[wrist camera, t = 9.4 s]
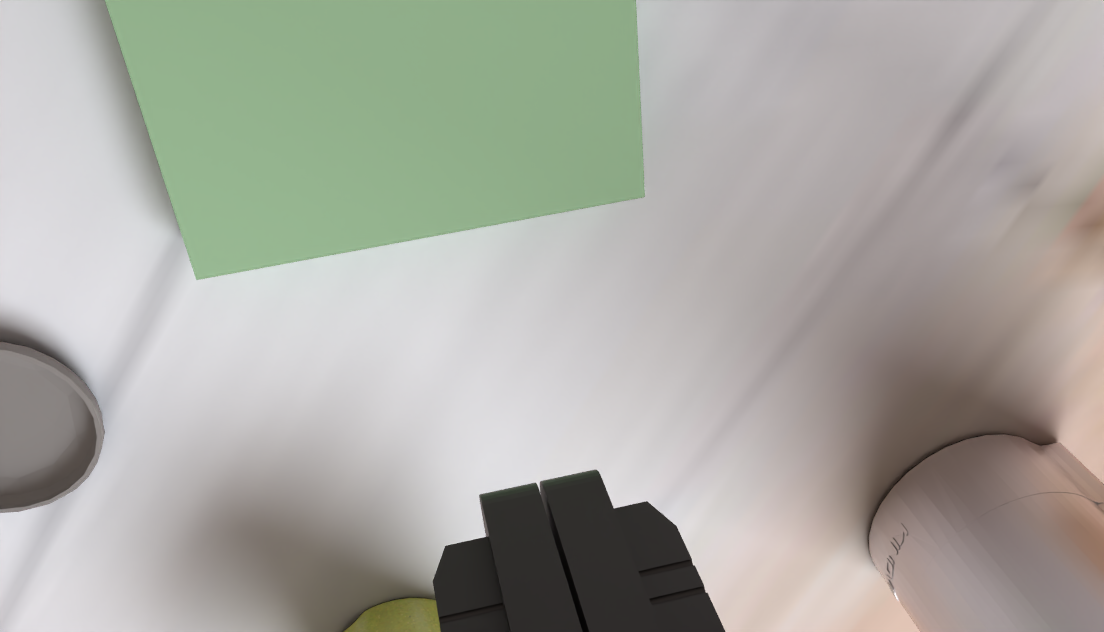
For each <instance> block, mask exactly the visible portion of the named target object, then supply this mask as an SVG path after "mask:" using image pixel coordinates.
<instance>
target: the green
mask: <svg viewBox="0 0 1104 632" xmlns="http://www.w3.org/2000/svg"><path fill="white" fill-rule="evenodd" d="M105 2H106V5H107V9H108V12H109V15H110V18H111V21H112V24H113V27H114V30H115V33H116V36H117V39H118V42H119V45H120V48H121V51H122V54H123V57H124V60H125V63H126V66H127V69H128V73H129V76H130V79H131V82H132V85H133V88H134V91H135V94H136V97H137V100H138V103H139V106H140V109H141V112H142V115H143V118H144V121H145V124H146V127H147V130H148V133H149V137H150V140H151V143H152V146H153V149H154V152H155V155H156V158H157V161H158V164H159V167H160V170H161V173H162V176H163V179H164V182H165V185H166V188H167V191H168V194H169V198H170V201H171V204H172V207H173V210H174V213H175V216H176V219H177V222H178V225H179V228H180V231H181V234H182V237H183V240H184V243H185V246H186V249H187V252H188V255H189V258H190V262H191V265H192V268H193V271H194V274H195V277H196V280H199V279H205V278H210V277H216V276H221V275H226V274H232V273H237V272H243V271H248V270H253V269H259V268H264V267H270V266H275V265H280V264H286V263H291V262H297V261H302V260H307V259H313V258H318V257H324V256H329V255H334V254H340V253H345V252H351V251H356V250H361V249H367V248H372V247H378V246H383V245H388V244H394V243H399V242H405V241H410V240H415V239H421V238H426V237H432V236H437V235H443V234H448V233H453V232H459V231H464V230H470V229H475V228H480V227H486V226H491V225H497V224H502V223H507V222H513V221H518V220H524V219H529V218H534V217H540V216H545V215H551V214H556V213H561V212H567V211H572V210H578V209H583V208H588V207H594V206H599V205H605V204H610V203H615V202H621V201H626V200H632V199H637V198H642V197H645V191H644V169H643V147H642V124H641V102H640V80H639V57H638V35H637V13H636V0H105Z"/></svg>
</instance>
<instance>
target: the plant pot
mask: <svg viewBox="0 0 1104 632" xmlns="http://www.w3.org/2000/svg"><path fill="white" fill-rule="evenodd" d="M344 632H441V631H440V623H439V618H438V611H437V605H436V600H432V599H426V598H405V599H398V600H393V601H389V602H385V603H382V604H379V605H377V606H374V607H372V608H370V609H368V610H366V611H365V612H364V613H362V614H361V616H360V617H359V618H358V619H357V620H356V621H355V622H354V623H353V624H352V625H351V626H350V627H349V628H347V629H346V630H345V631H344Z"/></svg>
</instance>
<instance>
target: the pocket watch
mask: <svg viewBox="0 0 1104 632" xmlns="http://www.w3.org/2000/svg"><path fill="white" fill-rule="evenodd" d="M104 434H105V430H104V426H103V420H102V413H101V410H100V408H99V405H98V403H97V400H96V398H95V397H94V395H93V394H92V392H91V391H90V389H89V388H88V387H87V385H86V384H85V383H84V382H83V381H82V380H81V379H80V378H79V377H78V376H77V375H76V374H75V373H74V372H73V371H72V370H71V369H69V368H68V367H66V366H65V365H63V364H62V363H60V362H59V361H57V360H56V359H54V358H52V357H50V356H48V355H45V354H43V353H41V352H39V351H36V350H34V349H32V348H29V347H25V346H20V345H15V344H10V343H6V342H1V341H0V513H5V512H19V511H23V510H27V509H31V508H35V507H39V506H43V505H46V504H50V503H52V502H54V501H56V500H58V499H60V498H62V497H63V496H65V495H67V494H68V493H70V492H72V491H73V490H75V489H77V488H78V487H79V486H80V485H81V484H82V483H83V482H84V481H85V480H86V479H87V478H88V477H89V475H90V473H91V472H92V470H93V469H94V467H95V465H96V464H97V461H98V458H99V455H100V452H101V449H102V444H103V439H104Z"/></svg>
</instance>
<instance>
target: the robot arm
mask: <svg viewBox="0 0 1104 632" xmlns="http://www.w3.org/2000/svg"><path fill="white" fill-rule="evenodd" d="M540 493H541V494H540ZM479 497H480V504H481V510H482V516H483V521H484V527H485V533H486V537H484V538H479V539H475V540H470V541H466V542H461V543H457V544H452V545H448V546H445V549H444V551H443V554H442V557H441V560H440V563H439V566H438V568H437V571H436V574H435V577H434V580H433V585H434V591H435V598H436V605H437V611H438V618H439V623H440V631H441V632H725V630H724V628H723V625H722V623H721V621H720V619H719V617H718V615H717V613H716V610H715V608H714V606H713V604H712V602H711V600H710V597H709V595H708V593H706V592H705V589H704V585H703V582H702V580H701V578H700V576H699V574H698V572H697V569H696V567H695V565H694V566H693V564H692V559H691V557H690V554H689V552H688V550H687V548H686V546H685V544H684V541H683V539H682V537H681V535H680V533H679V531H678V529H677V526H676V525H674V524H673V523H672V522H671V521H670V520H668V519H667V518H666V517H665V516H664V515H663V514H661V513H660V512H659V511H658V510H657V509H656V508H654V507H653V506H652V505H651V504H650V503H648V502H647V501H646V502H642V503H637V504H633V505H628V506H624V507H619V508H613V506H612V503H611V501H610V498H609V496H608V493H607V491H606V488H605V485H604V483H603V480H602V478H601V476H600V474H599V472H598V471H597V470H591V471H586V472H582V473H577V474H572V475H568V476H563V477H558V478H554V479H549V480H544V481H540V491H539V488H538V486H537V484H536V483H532V484H527V485H522V486H518V487H513V488H508V489H504V490H499V491H494V492H490V493H485V494H480V495H479ZM869 551H870V554H871V557H872V560H873V563H874V565H875V566H876V568H877V569H878V570H879V572H880V573H881V575H882V576H883V578H884V579H885V581H886V582H887V584H888V585H889V587H890V589H891V591H892V593H893V594H894V596H895V597H896V599H897V600H899V601H900V603H901V604H902V606H903V607H904V609H905V610H906V611H907V613H908V614H909V616H910V617H911V619H912V620H913V622H914V623H915V625H916V626H917V628H918V629H919V631H920V632H1104V484H1103V483H1102V482H1101V481H1100V480H1099V479H1098V478H1097V477H1096V476H1095V475H1094V474H1092V473H1091V472H1090V471H1089V470H1088V469H1087V468H1086V467H1085V466H1084V465H1083V464H1082V463H1081V462H1080V461H1079V460H1078V459H1077V458H1076V457H1075V456H1074V455H1072V454H1071V453H1070V452H1069V451H1068V450H1067V449H1066V448H1065V447H1064V446H1063V445H1062V444H1061V443H1054V444H1049V445H1041V446H1040V445H1037V444H1034V443H1032V442H1030V441H1028V440H1026V439H1024V438H1022V437H1017V436H1011V435H1005V434H1001V435H984V436H980V437H975V438H971V439H966V440H963V441H961V442H958V443H956V444H953V445H951V446H948V447H945V448H944V449H942V450H940V451H938V452H937V453H935V454H933V455H931V456H929V457H928V458H926V459H925V460H923V461H922V462H921V463H919V464H918V465H917V466H915V467H914V468H913V469H911V470H910V471H909V472H908V473H907V474H906V475H905V476H904V477H903V478H902V479H901V480H900V481H899V482H898V483H897V484H896V485H895V486H894V487H893V488H892V489H891V491H890V492H889V493H888V495H887V496H886V498H885V499H884V500H883V502H882V503H881V505H880V507H879V509H878V511H877V513H876V515H875V517H874V519H873V522H872V526H871V530H870V535H869Z"/></svg>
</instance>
